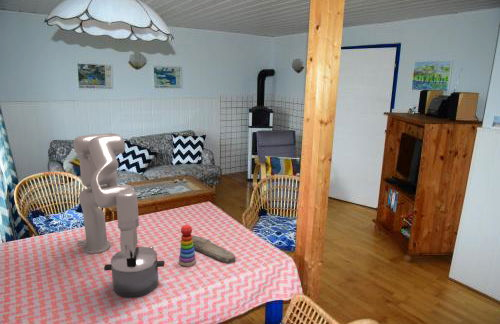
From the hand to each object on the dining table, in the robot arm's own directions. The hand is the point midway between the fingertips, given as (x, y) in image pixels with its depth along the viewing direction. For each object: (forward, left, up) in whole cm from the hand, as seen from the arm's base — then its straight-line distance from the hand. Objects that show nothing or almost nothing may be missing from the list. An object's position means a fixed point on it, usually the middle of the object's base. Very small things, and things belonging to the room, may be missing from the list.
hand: (131, 265), depth 138 cm
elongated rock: (+31, +32, -13) cm, 46 cm away
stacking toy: (+21, +22, -13) cm, 33 cm away
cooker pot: (0, +7, -13) cm, 14 cm away
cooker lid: (0, +7, -2) cm, 7 cm away
